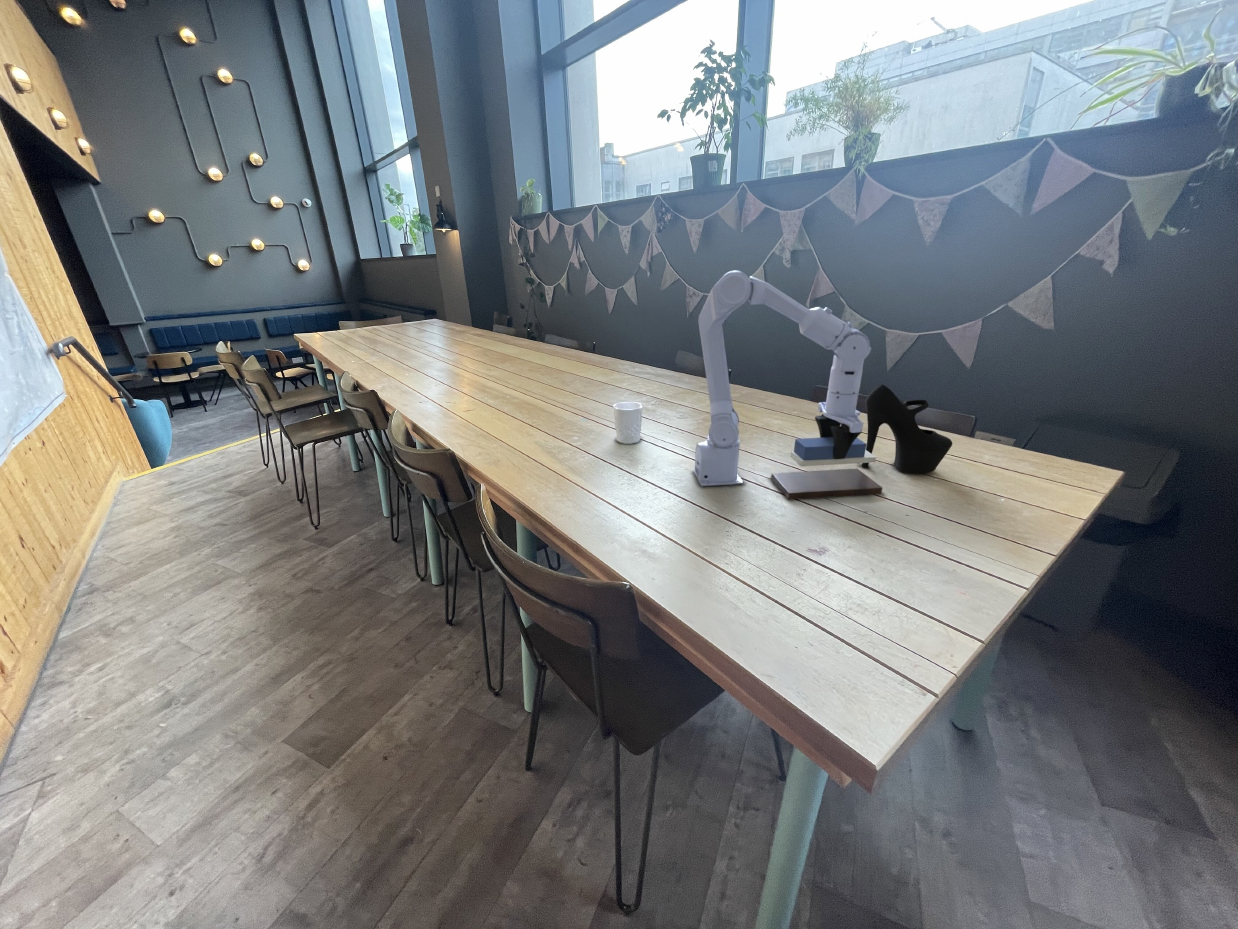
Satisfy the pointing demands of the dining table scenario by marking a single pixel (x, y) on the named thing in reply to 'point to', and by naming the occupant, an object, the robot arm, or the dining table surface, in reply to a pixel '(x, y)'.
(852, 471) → the shoe shelf
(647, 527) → the dining table surface
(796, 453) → the blue and white eraser
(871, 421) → the high-heeled shoe
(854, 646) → the dining table surface
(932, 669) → the dining table surface
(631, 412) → the white cup
